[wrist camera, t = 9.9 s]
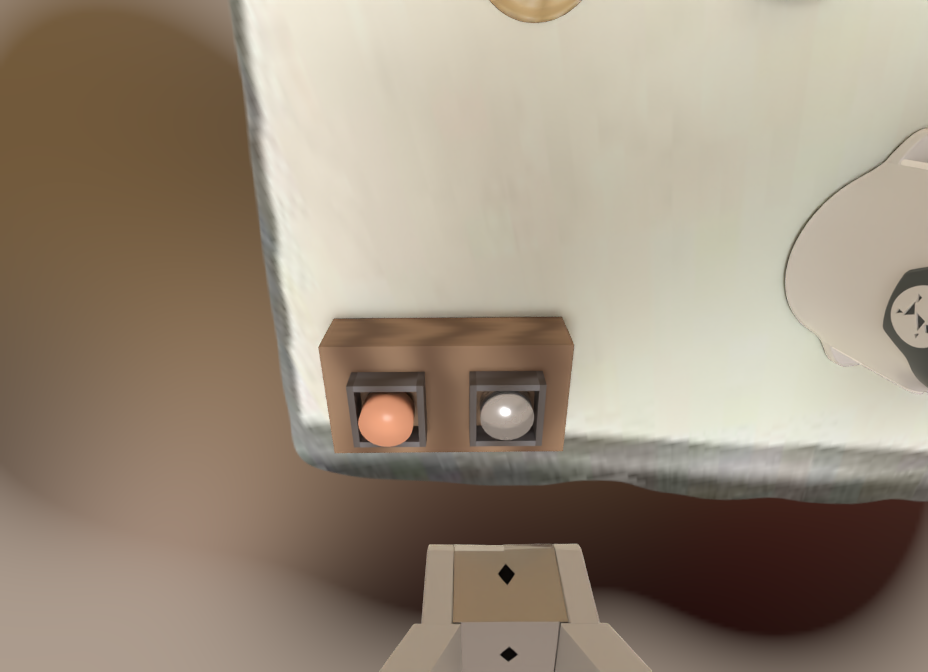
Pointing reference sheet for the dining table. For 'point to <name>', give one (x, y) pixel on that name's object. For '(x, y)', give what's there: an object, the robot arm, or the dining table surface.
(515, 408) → the steel button
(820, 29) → the dining table surface
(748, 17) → the dining table surface
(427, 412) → the button box
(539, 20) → the hand bell
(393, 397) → the terracotta button
